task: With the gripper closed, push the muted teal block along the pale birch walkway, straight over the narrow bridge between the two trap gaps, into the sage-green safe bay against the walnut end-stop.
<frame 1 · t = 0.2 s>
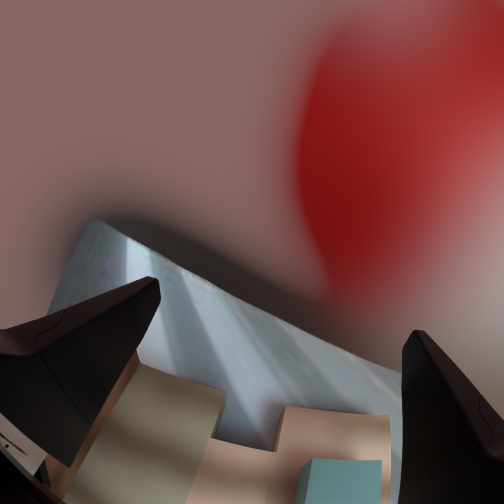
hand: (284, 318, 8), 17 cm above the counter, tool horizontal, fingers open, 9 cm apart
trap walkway: (230, 489, 14), on the counter
teal block: (329, 498, 12), point 2 cm above the counter, touching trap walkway
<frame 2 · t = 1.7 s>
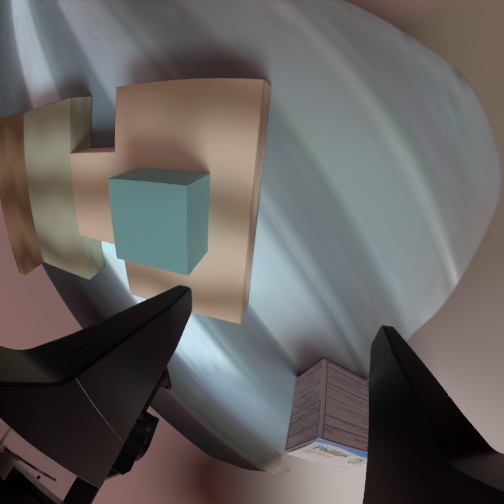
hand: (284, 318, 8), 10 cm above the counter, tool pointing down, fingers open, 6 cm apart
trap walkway: (113, 189, 20), on the counter
teal block: (171, 208, 16), point 2 cm above the counter, touching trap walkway
medicine box: (339, 380, 24), on the counter
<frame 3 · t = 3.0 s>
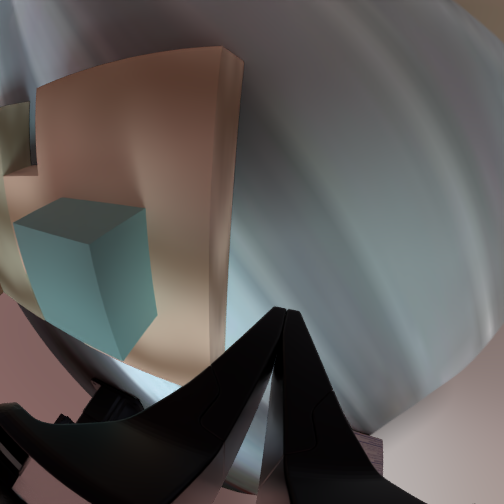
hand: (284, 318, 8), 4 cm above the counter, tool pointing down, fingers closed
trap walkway: (55, 216, 14), on the counter
teal block: (105, 255, 11), point 2 cm above the counter, touching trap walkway
medicine box: (337, 435, 18), on the counter
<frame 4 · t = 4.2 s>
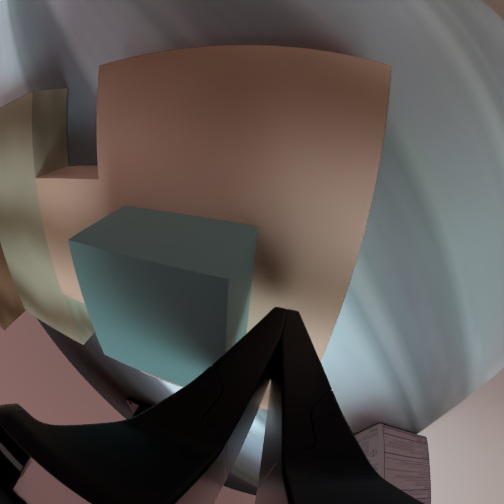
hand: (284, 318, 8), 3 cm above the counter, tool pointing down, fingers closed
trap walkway: (104, 228, 13), on the counter
teal block: (185, 277, 10), point 3 cm above the counter, touching gripper
medicine box: (387, 436, 17), on the counter
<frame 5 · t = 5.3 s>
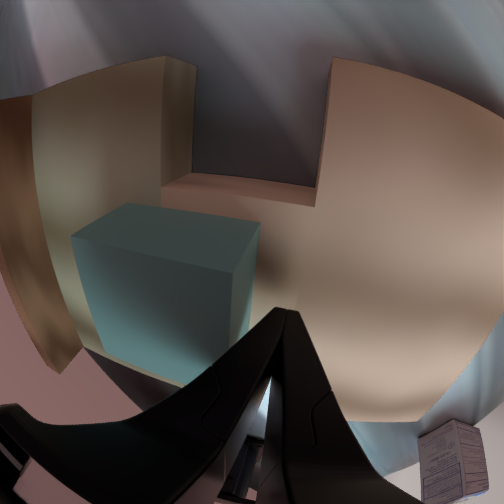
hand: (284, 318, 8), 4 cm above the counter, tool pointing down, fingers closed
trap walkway: (244, 257, 12), on the counter
teal block: (187, 274, 10), point 3 cm above the counter, touching gripper, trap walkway
medicine box: (450, 431, 16), on the counter
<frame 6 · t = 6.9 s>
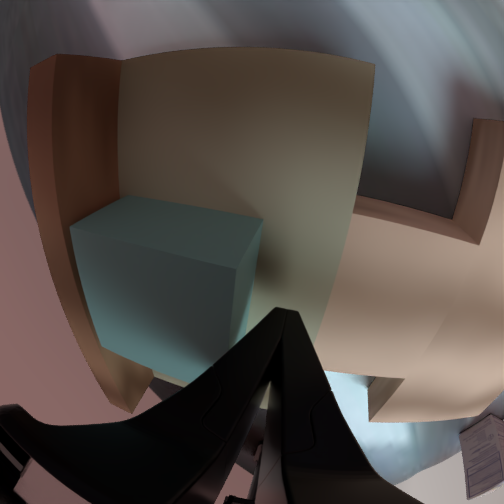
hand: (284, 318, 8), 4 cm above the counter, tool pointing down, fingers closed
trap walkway: (379, 280, 11), on the counter
teal block: (187, 269, 10), point 2 cm above the counter, touching gripper, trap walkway
medicine box: (484, 426, 15), on the counter
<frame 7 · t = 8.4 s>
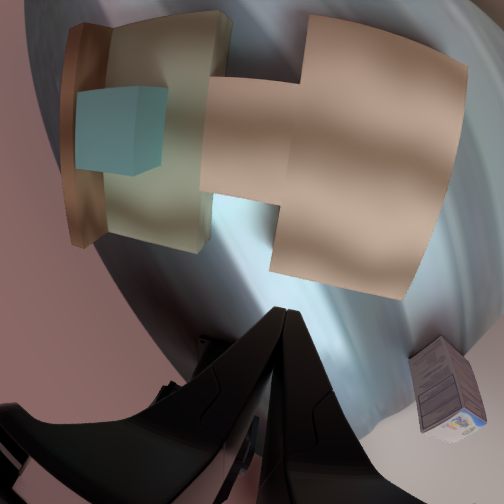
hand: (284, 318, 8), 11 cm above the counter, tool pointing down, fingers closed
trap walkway: (255, 135, 16), on the counter
teal block: (132, 125, 15), point 2 cm above the counter, touching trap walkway
medicine box: (440, 359, 21), on the counter
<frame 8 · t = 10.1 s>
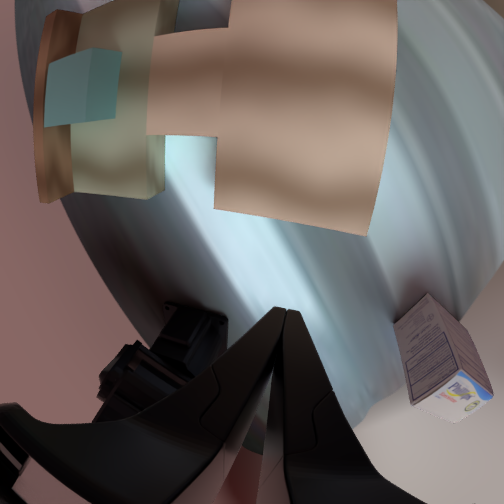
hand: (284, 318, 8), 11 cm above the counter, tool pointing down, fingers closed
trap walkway: (199, 84, 15), on the counter
teal block: (93, 88, 14), point 2 cm above the counter, touching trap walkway
medicine box: (432, 325, 20), on the counter
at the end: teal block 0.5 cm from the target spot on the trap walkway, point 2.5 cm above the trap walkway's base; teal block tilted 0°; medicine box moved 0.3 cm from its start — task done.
